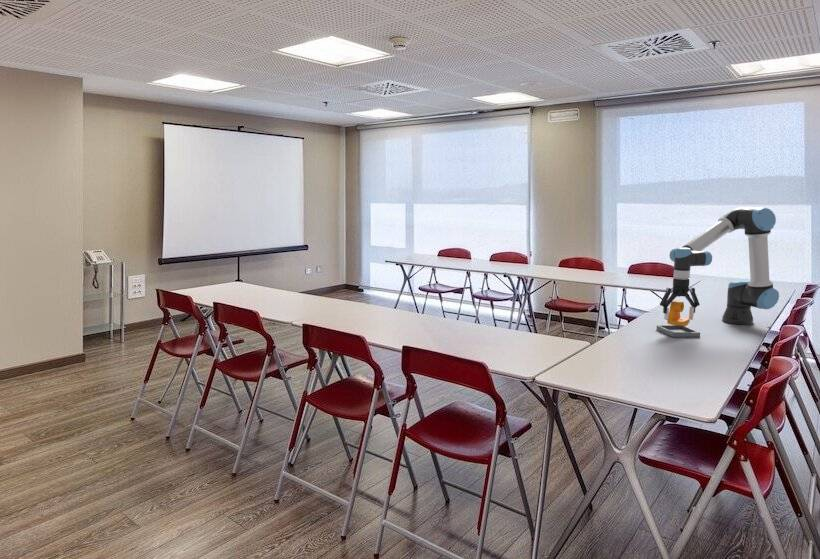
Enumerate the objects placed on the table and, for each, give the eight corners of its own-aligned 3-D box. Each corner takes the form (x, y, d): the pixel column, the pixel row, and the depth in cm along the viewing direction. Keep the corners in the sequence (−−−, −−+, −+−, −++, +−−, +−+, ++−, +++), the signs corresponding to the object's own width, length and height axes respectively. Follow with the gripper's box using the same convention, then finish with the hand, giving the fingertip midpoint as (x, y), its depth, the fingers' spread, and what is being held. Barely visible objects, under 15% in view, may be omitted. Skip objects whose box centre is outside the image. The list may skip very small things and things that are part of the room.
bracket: (681, 327, 286) (683, 303, 284) (667, 325, 291) (668, 302, 289) (690, 323, 293) (691, 301, 291) (675, 321, 298) (677, 299, 296)
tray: (682, 329, 301) (682, 324, 301) (700, 337, 285) (700, 332, 284) (656, 329, 301) (656, 325, 300) (672, 337, 284) (673, 333, 284)
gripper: (700, 276, 293) (697, 317, 296) (654, 277, 291) (651, 318, 295) (709, 279, 285) (705, 320, 288) (661, 279, 284) (658, 321, 287)
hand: (678, 319), depth 292 cm, fingers closed on bracket, 12 cm apart
